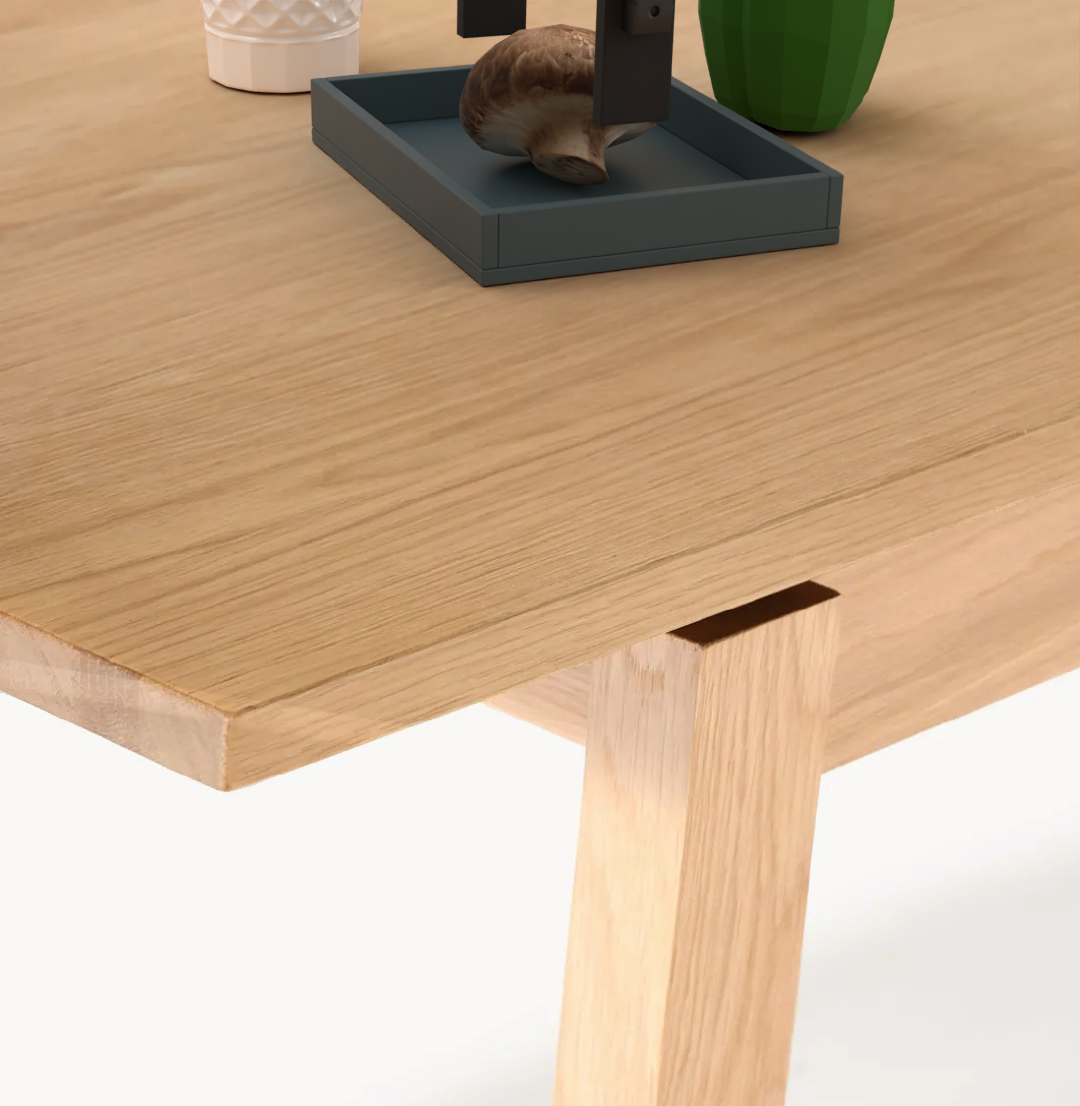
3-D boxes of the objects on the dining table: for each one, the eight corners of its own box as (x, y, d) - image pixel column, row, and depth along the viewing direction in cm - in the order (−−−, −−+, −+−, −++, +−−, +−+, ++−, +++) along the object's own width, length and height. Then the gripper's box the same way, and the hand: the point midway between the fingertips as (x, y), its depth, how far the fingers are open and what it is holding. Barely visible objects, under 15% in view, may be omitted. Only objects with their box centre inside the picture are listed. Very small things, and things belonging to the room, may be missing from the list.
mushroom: (630, 135, 92) (603, -28, 92) (437, 196, 95) (413, 38, 96) (712, 188, 99) (686, 36, 100) (530, 243, 102) (507, 96, 103)
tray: (482, 287, 89) (482, 214, 87) (311, 141, 104) (309, 78, 103) (839, 243, 94) (844, 174, 92) (625, 110, 109) (627, 49, 108)
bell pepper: (712, 86, 113) (724, -148, 108) (896, 102, 111) (917, -135, 106) (670, 136, 106) (680, -112, 101) (866, 154, 104) (886, -98, 99)
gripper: (848, -528, 78) (796, 153, 88) (537, -560, 98) (524, -3, 108) (625, -531, 75) (599, 172, 85) (352, -564, 95) (357, 8, 105)
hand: (557, 76), depth 97 cm, fingers open, 13 cm apart
